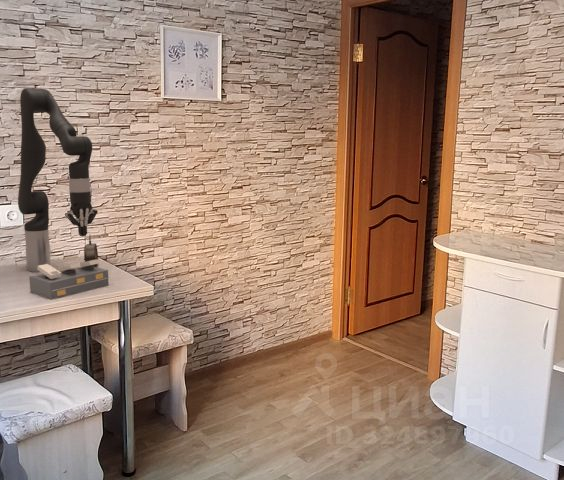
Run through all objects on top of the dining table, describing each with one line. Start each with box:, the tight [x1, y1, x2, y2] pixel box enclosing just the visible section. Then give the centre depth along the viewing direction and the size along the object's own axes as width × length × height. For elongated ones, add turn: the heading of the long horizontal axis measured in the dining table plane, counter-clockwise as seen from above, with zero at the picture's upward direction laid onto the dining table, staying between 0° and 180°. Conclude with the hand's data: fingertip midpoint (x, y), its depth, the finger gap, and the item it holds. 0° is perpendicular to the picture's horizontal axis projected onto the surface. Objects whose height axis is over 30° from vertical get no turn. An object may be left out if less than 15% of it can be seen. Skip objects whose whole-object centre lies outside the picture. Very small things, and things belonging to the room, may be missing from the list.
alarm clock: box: [83, 233, 100, 268], centre depth 243 cm, size 11×5×16 cm, turn 13°
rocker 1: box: [37, 264, 61, 279], centre depth 212 cm, size 9×4×2 cm, turn 52°
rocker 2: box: [57, 262, 81, 272], centre depth 218 cm, size 9×4×2 cm, turn 52°
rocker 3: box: [79, 258, 100, 267], centre depth 224 cm, size 9×4×2 cm, turn 52°
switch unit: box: [28, 265, 110, 300], centre depth 219 cm, size 14×24×7 cm, turn 142°
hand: (83, 235), depth 221 cm, fingers closed
